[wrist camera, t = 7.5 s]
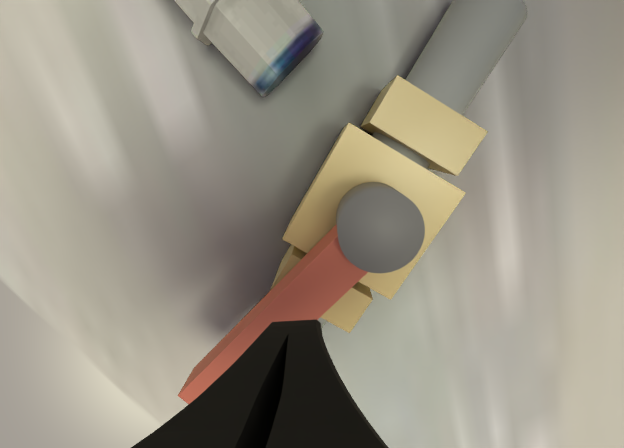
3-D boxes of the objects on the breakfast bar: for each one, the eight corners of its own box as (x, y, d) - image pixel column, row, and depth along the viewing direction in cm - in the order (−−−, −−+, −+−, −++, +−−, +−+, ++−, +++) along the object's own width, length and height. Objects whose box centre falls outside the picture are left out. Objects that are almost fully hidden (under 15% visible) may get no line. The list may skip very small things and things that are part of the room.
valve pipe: (425, -16, 15) (457, -66, 12) (525, 50, 16) (585, 22, 12) (232, 320, 20) (211, 361, 16) (314, 363, 20) (311, 412, 17)
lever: (372, 166, 13) (382, 171, 11) (423, 216, 14) (443, 231, 11) (185, 358, 16) (160, 396, 14) (232, 396, 16) (217, 438, 14)
